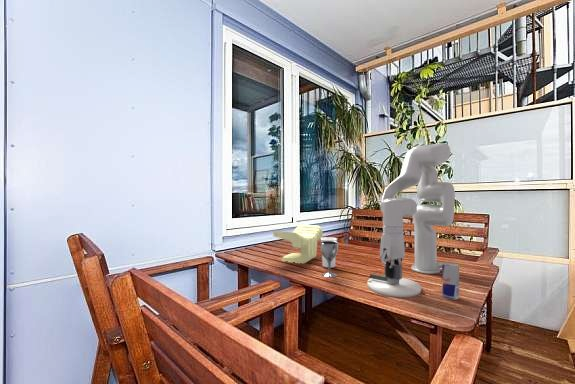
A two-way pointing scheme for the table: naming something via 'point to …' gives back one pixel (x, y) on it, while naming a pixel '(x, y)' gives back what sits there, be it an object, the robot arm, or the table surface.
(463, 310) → the table surface
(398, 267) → the tuning knob
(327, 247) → the wine glass
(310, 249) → the slatted curved stool
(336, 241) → the cup
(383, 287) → the tuner dial
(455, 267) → the energy drink
